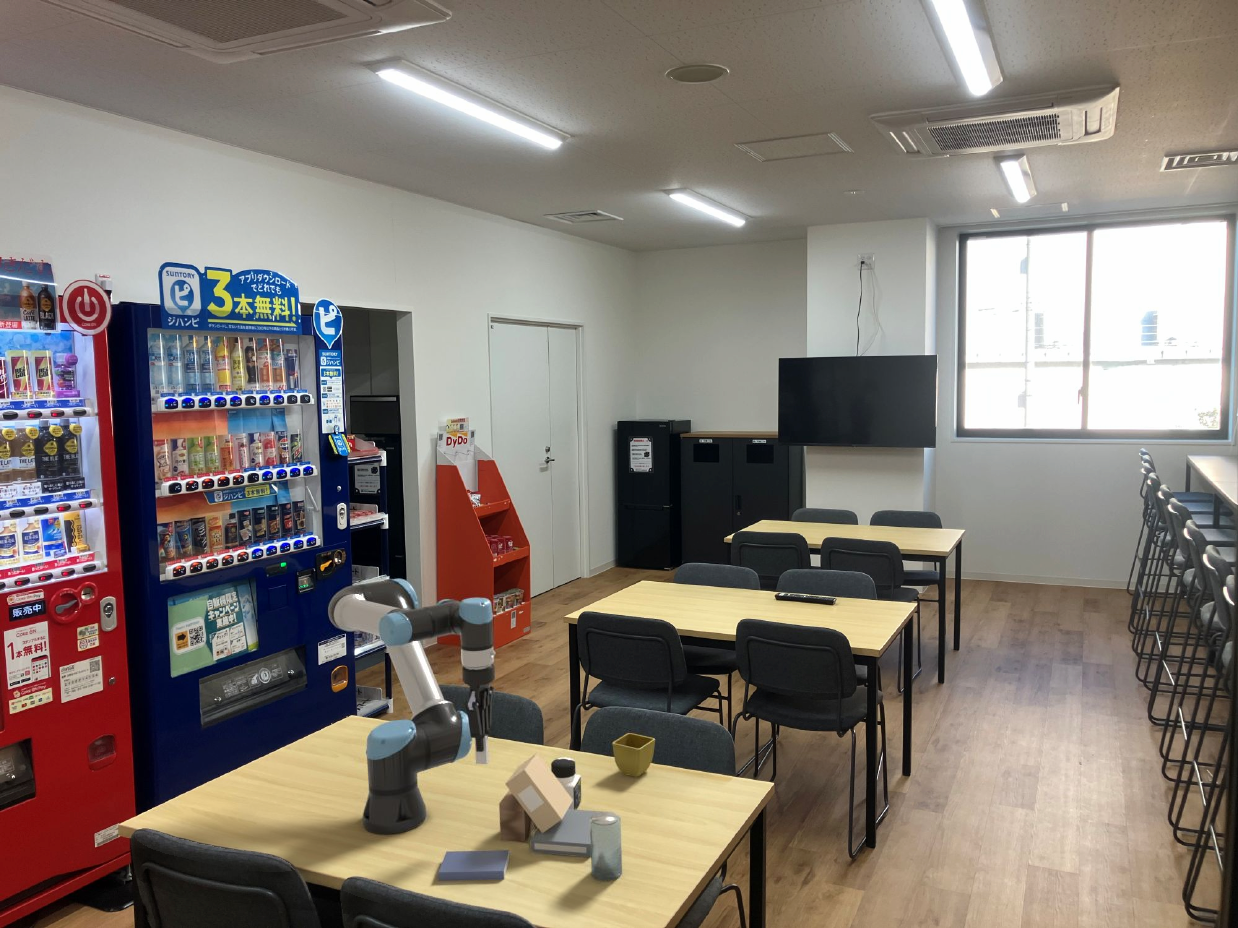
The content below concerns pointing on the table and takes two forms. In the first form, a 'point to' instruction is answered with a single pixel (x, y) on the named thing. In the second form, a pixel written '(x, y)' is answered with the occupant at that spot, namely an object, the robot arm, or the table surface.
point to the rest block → (514, 820)
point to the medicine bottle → (568, 779)
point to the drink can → (606, 846)
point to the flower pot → (633, 753)
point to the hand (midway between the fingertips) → (482, 762)
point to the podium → (566, 835)
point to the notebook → (474, 865)
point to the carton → (539, 792)
